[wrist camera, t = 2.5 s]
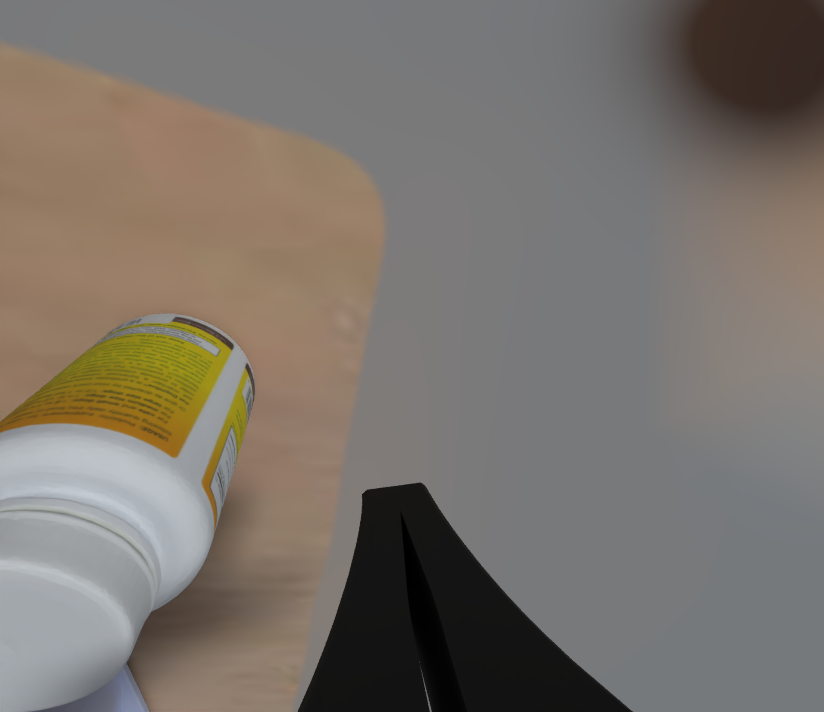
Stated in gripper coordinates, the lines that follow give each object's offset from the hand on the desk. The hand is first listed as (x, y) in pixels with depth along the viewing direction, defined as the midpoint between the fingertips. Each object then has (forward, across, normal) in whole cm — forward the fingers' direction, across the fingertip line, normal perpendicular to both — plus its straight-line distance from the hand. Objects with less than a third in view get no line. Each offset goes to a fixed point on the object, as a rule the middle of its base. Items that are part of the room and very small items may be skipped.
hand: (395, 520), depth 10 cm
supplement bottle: (+9, +7, 0) cm, 11 cm away
